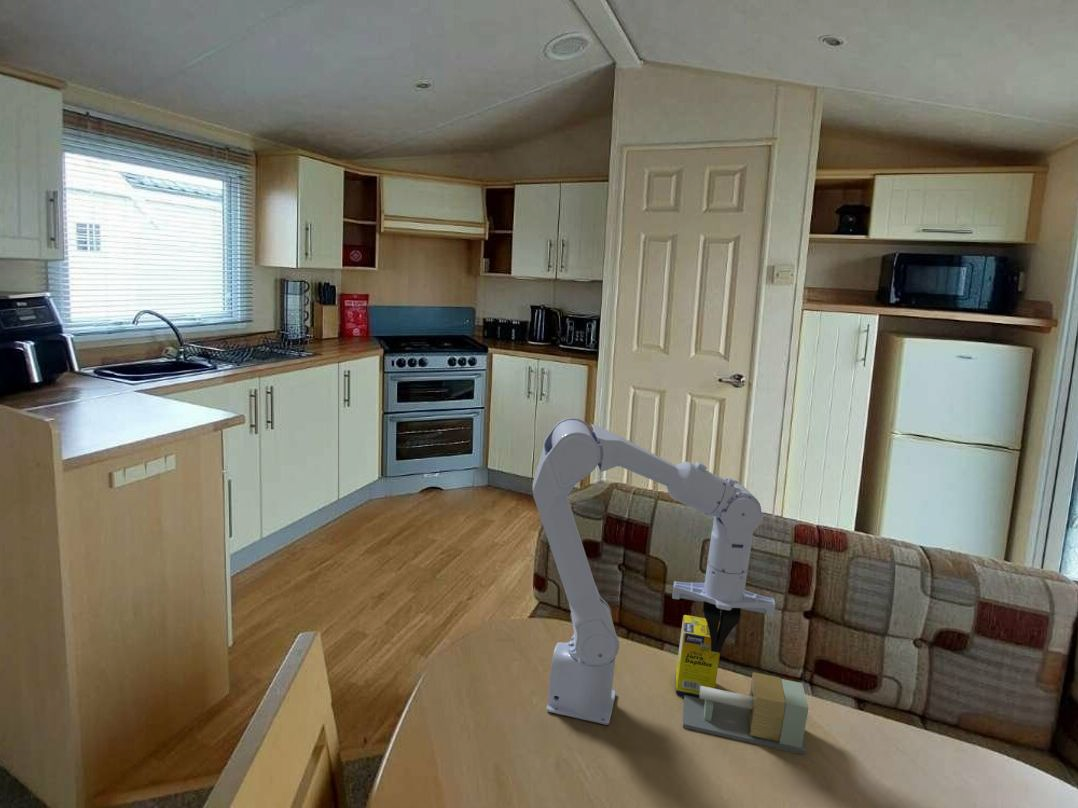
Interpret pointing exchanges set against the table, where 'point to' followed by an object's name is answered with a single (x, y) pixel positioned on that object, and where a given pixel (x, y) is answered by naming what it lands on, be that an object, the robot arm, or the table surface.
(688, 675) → the supplement box
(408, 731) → the table surface
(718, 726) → the shaft rig
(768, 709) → the block
